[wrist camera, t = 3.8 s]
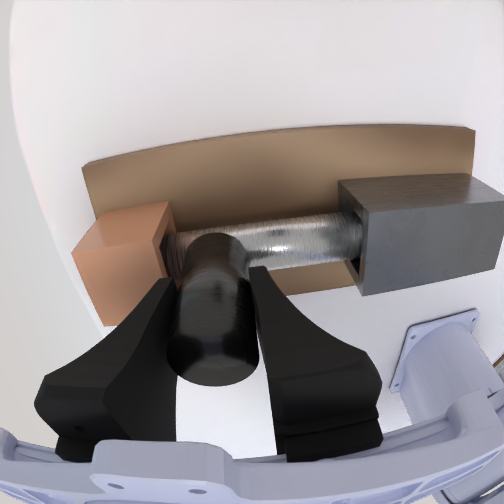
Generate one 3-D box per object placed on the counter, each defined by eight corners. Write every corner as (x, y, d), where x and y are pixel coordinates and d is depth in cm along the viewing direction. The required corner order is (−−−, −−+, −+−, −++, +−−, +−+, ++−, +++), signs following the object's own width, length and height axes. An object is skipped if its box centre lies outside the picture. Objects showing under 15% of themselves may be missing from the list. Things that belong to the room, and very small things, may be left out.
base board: (448, 260, 21) (454, 267, 20) (134, 303, 21) (130, 312, 20) (466, 127, 16) (475, 130, 15) (88, 162, 16) (81, 167, 15)
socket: (185, 270, 19) (177, 320, 15) (124, 277, 19) (103, 326, 15) (169, 200, 17) (151, 240, 13) (102, 212, 17) (71, 252, 13)
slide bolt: (379, 244, 18) (449, 342, 11) (152, 273, 18) (118, 390, 11) (383, 195, 16) (470, 281, 9) (137, 225, 16) (84, 334, 9)
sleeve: (457, 234, 19) (494, 268, 15) (337, 250, 19) (362, 296, 15) (466, 173, 17) (511, 200, 13) (338, 179, 17) (369, 213, 13)
